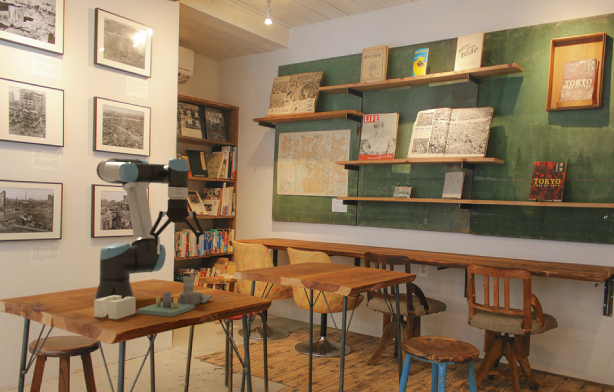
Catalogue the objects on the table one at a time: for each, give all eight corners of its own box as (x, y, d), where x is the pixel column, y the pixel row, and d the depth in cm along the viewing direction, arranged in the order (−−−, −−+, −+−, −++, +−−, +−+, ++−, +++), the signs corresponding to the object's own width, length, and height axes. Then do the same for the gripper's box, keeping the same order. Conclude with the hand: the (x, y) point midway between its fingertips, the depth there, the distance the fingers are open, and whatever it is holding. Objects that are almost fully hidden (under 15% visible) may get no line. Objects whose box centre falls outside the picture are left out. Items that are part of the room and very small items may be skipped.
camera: (174, 276, 197) (195, 272, 211) (173, 306, 197) (194, 300, 211) (193, 278, 194) (213, 273, 208) (192, 308, 194) (212, 301, 208)
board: (137, 313, 184) (137, 294, 184) (162, 305, 198) (162, 287, 198) (171, 316, 179) (171, 297, 179) (194, 308, 193) (195, 290, 193)
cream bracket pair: (116, 319, 175) (116, 302, 175) (93, 316, 178) (94, 299, 178) (135, 313, 184) (135, 297, 184) (113, 310, 188) (114, 295, 188)
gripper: (144, 198, 184) (143, 255, 184) (211, 199, 193) (210, 253, 193) (143, 197, 191) (142, 253, 191) (208, 199, 200) (207, 251, 200)
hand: (176, 253), depth 192 cm, fingers open, 13 cm apart
